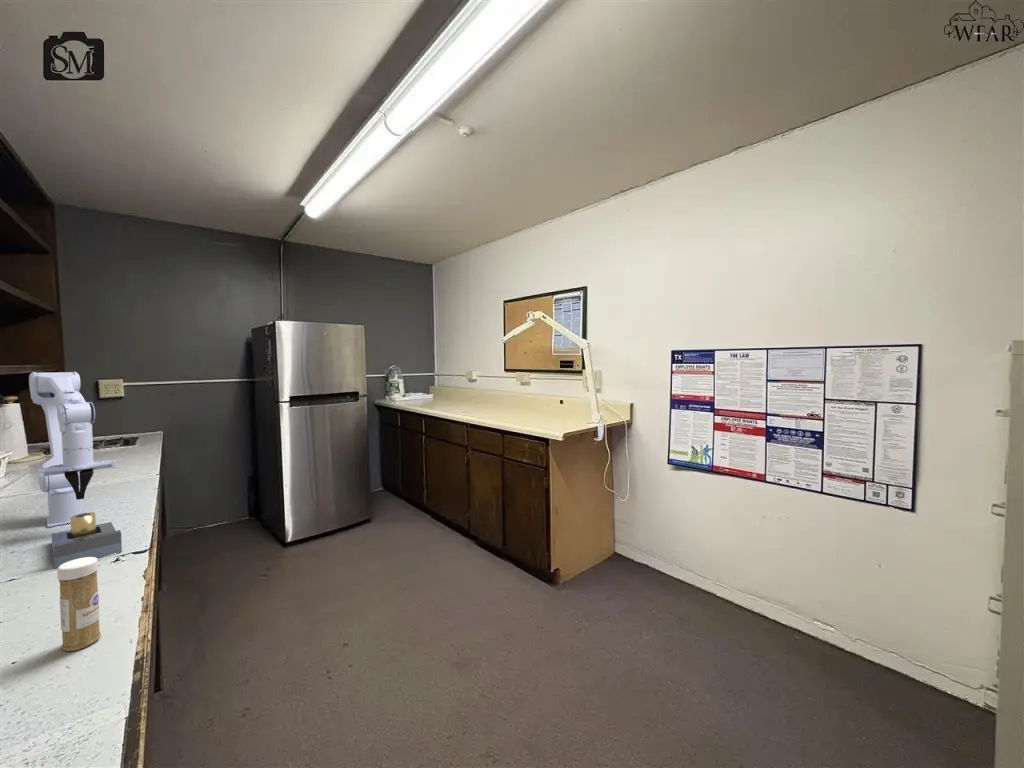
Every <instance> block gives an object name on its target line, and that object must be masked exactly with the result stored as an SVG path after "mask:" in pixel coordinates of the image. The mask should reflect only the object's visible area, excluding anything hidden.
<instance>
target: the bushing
mask: <svg viewBox="0 0 1024 768" xmlns="http://www.w3.org/2000/svg"><path fill="white" fill-rule="evenodd" d="M96 525H97V523H96V512H93V511H92V512H89V511H88V512H86V513H82V514H78V515H74V516H72V517H71V523H70V530H71V538H72V539H73V538H78V537H82V536H87V535H92V534H96Z"/></svg>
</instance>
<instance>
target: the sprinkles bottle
mask: <svg viewBox="0 0 1024 768" xmlns="http://www.w3.org/2000/svg"><path fill="white" fill-rule="evenodd" d="M98 559H99V558H98ZM98 559H97V558H95V557H84V558H79V559H75V560H71V561H68V562H66V563H64V564H62V565H60V566H59V567H58V568H57V580H58V582H59V595H60V596H59V609H60V630H61V634H62V635H61V636H62V645H61V649H62V650H63V651H64V652H72V651H78V650H82V649H84V648H86V647H89V646H91V645H93V644H94V643H96V642H98V640H99V639H101V636H102V635H101V634H102V633H101V630H100V600H99V599H100V598H99V597H100V596H99V589H98V569H99V560H98Z"/></svg>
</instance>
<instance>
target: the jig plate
mask: <svg viewBox="0 0 1024 768" xmlns="http://www.w3.org/2000/svg"><path fill="white" fill-rule="evenodd" d="M51 546H52V548H51V549H52V555H53V565H54V566H55V567H54V570H56V568H57V569H58V567H59V566H60V565H62V564H64V563H66V562H68V561H71V560H75V559H79V558H84V557H95V558H98V559H100V558H101V557H102V558H105V557H104V556H106V557H108V556H107V555H110V554H114V553H118V552H122V553H123V549H122V548H123V546H122V531H121V529H118V530H116V529H115V526H114V524H113V523H112V521H109V522H104V523H100V524H96V534H92V535H87V536H82V537H78V538H73V539H72V538H71V529H69V530H65V531H60V532H55V533H51ZM118 554H119V553H118ZM114 555H115V554H114ZM110 556H111V555H110ZM102 558H101V559H102Z"/></svg>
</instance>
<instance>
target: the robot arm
mask: <svg viewBox="0 0 1024 768" xmlns="http://www.w3.org/2000/svg"><path fill="white" fill-rule="evenodd" d="M28 385H29V392H30V399H31V400H32V403H33V404H36V405H39V406H41V408H42V410H43V413H44V415H45V416H44V417H45V422H46V428H47V430H46V431H47V437H48V443H49V450H50V455H51V458H50V459H48V460H47V461H45V462H44V463H42V464H40V466H39V468H37V478H38V485H39V489H40V491H41V492H43V494H46V493H47V502H48V503H47V506H48V517H47V518H46V526H47V528H51V527H56V526H61V525H67V523H68V524H71V517H72V516H74V515H78V514H82V513H87V511H86V509H85V508H86V506H85V505H86V503H85V494H86V490H87V487H88V486H89V485H90V483H91V482H92V478H93V476H94V470H104V469H109V468H110V469H111V468H112V469H113V468H114V469H115V468H117V459H108V460H106V459H105V460H95V461H94V442H93V441H94V440H93V424H94V423H95V419H96V410H95V405H94V404H93V402H92V401H86V400H85V398H84V396H83V395H82V394H81V392H80V390H81V377H80V374H79V373H78V372H77V371H68V372H66V371H64V372H63V371H60V372H59V371H58V372H53V371H52V372H36V371H32V372H31V373H30V374H29V376H28Z"/></svg>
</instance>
